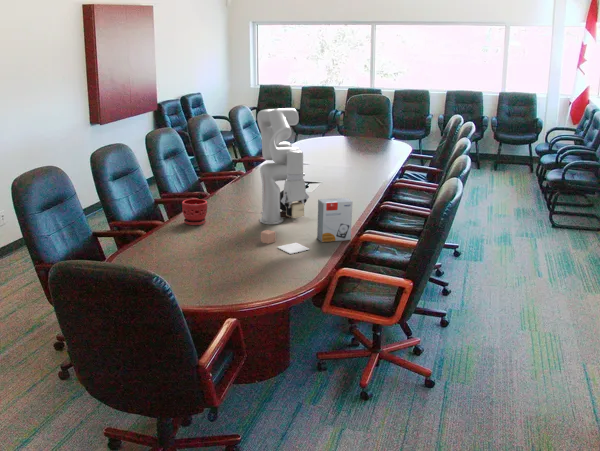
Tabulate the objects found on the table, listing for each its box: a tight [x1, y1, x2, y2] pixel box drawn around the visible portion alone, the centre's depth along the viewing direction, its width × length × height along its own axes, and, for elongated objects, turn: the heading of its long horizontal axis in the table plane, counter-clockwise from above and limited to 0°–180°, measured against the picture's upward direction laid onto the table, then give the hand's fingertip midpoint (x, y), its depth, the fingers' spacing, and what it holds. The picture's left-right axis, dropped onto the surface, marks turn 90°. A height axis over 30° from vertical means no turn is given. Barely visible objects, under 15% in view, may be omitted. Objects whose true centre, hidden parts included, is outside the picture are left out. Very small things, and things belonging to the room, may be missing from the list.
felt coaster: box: [276, 242, 311, 255], centre depth 309 cm, size 11×11×1 cm
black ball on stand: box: [280, 189, 299, 219], centre depth 360 cm, size 13×13×15 cm
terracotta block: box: [260, 229, 276, 245], centre depth 319 cm, size 5×5×5 cm
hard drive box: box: [316, 197, 353, 243], centre depth 321 cm, size 16×8×20 cm, turn 105°
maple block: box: [286, 201, 305, 219], centre depth 307 cm, size 6×6×6 cm
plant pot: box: [181, 198, 208, 226], centre depth 346 cm, size 13×13×12 cm
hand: (295, 214), depth 307 cm, fingers closed on maple block, 6 cm apart
